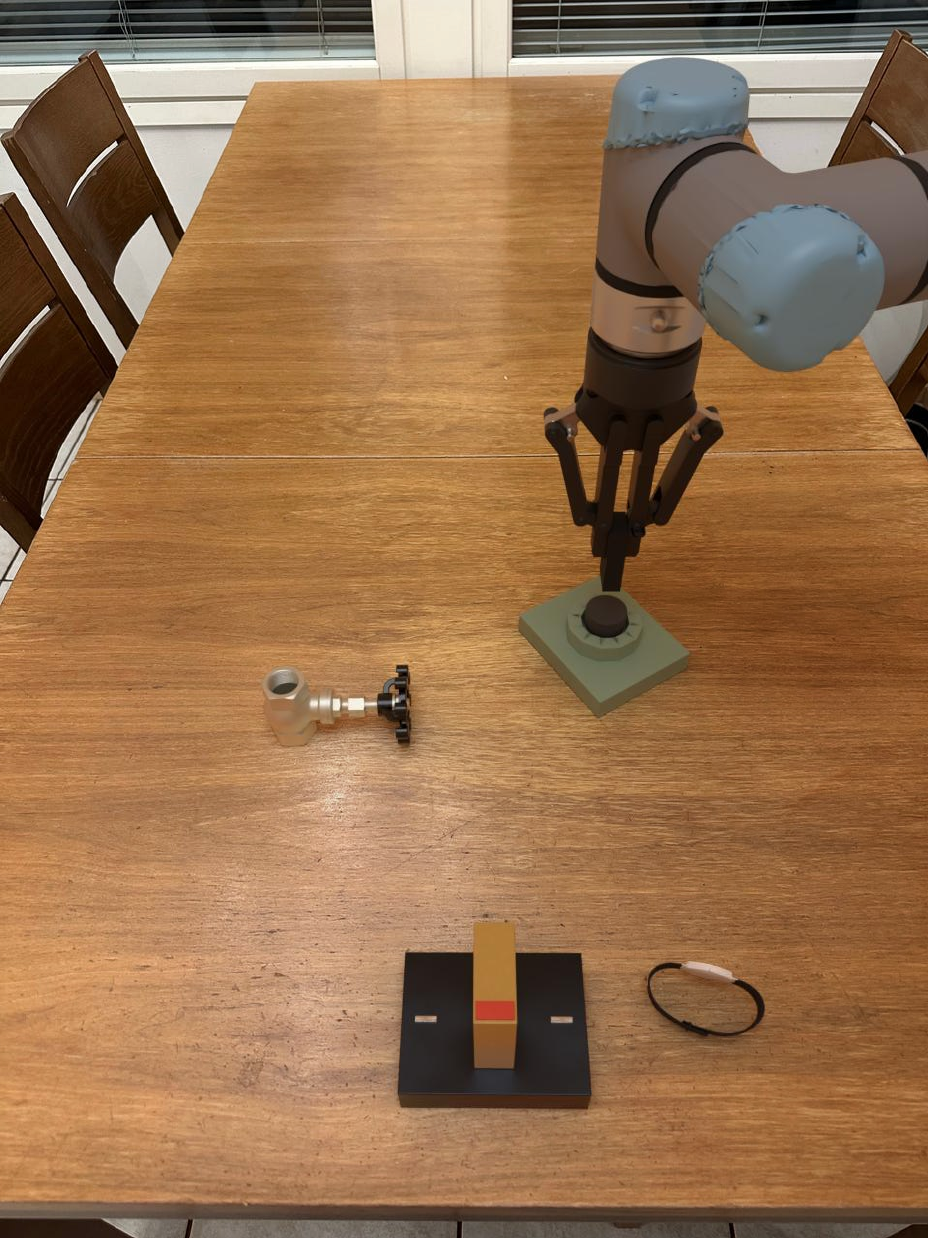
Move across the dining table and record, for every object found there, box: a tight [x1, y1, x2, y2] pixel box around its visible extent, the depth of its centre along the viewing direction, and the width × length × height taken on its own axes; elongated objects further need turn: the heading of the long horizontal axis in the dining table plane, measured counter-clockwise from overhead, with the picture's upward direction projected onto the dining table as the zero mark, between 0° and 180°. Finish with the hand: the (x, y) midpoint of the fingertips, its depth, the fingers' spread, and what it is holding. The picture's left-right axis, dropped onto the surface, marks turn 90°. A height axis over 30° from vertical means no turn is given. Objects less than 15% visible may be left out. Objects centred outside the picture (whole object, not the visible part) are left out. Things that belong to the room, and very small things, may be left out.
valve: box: [259, 664, 413, 747], centre depth 78 cm, size 7×7×12 cm
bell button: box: [584, 595, 627, 638], centre depth 83 cm, size 4×4×2 cm
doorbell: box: [518, 574, 691, 719], centre depth 85 cm, size 12×10×4 cm
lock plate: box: [397, 951, 593, 1110], centre depth 62 cm, size 12×9×3 cm
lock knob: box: [472, 922, 517, 1068], centre depth 58 cm, size 6×2×8 cm, turn 0°
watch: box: [646, 960, 766, 1038], centre depth 63 cm, size 8×5×4 cm, turn 74°
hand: (609, 579), depth 80 cm, fingers closed
